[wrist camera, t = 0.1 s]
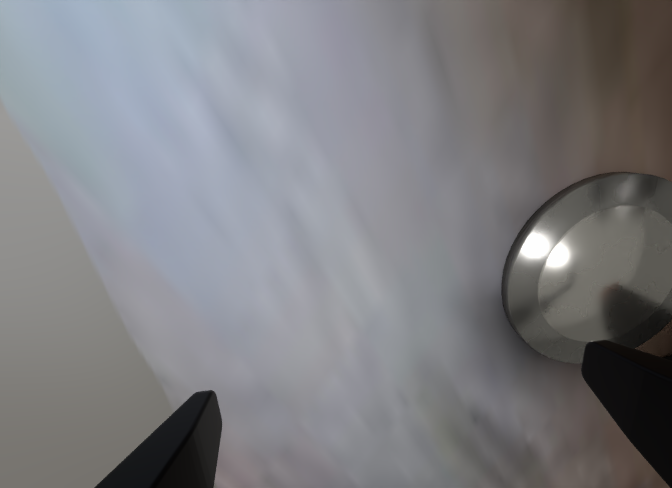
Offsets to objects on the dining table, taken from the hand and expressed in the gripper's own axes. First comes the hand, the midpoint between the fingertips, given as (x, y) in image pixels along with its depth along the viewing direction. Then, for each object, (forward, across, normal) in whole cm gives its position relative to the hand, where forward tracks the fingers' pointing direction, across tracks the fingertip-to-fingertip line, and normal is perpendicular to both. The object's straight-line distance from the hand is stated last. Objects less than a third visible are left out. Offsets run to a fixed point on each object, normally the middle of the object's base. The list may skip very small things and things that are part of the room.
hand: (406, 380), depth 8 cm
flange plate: (+14, -18, +5) cm, 24 cm away
